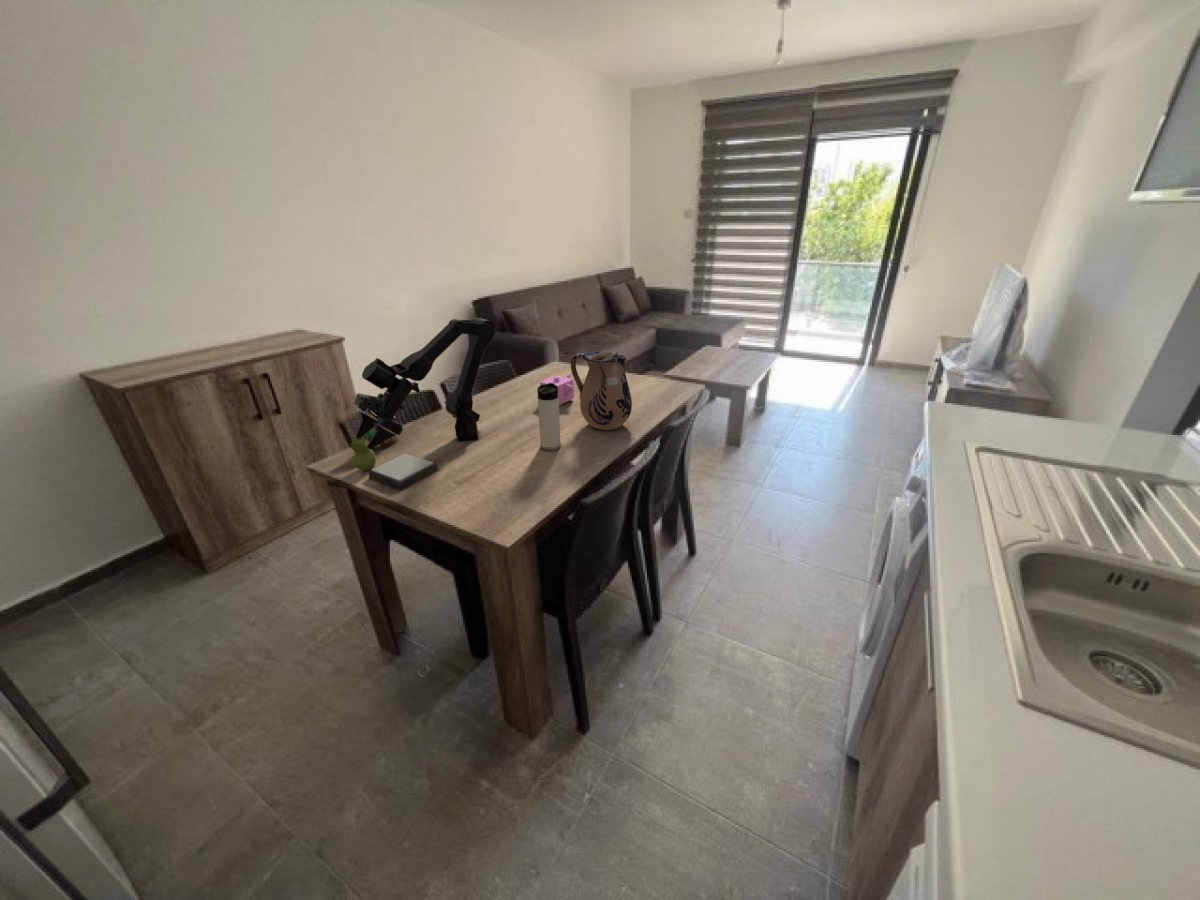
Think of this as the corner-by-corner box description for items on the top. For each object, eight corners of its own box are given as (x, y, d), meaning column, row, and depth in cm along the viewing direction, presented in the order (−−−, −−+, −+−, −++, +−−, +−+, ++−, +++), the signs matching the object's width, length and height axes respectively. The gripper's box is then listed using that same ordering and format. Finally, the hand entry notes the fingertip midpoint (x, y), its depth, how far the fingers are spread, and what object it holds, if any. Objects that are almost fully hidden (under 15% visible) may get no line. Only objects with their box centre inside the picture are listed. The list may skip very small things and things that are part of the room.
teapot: (559, 391, 198) (558, 367, 193) (587, 397, 191) (587, 373, 186) (531, 405, 184) (529, 379, 179) (560, 412, 177) (559, 386, 173)
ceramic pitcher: (628, 437, 157) (629, 363, 146) (565, 433, 161) (562, 360, 149) (633, 417, 173) (635, 348, 161) (577, 413, 176) (575, 346, 165)
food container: (385, 452, 148) (378, 423, 144) (368, 451, 149) (360, 421, 145) (407, 436, 159) (402, 408, 154) (391, 434, 160) (384, 407, 156)
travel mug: (564, 443, 154) (561, 383, 145) (555, 452, 148) (552, 390, 139) (546, 440, 156) (542, 381, 147) (537, 449, 150) (533, 388, 141)
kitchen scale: (407, 459, 144) (405, 451, 143) (437, 469, 138) (436, 461, 137) (369, 478, 134) (367, 470, 133) (400, 490, 128) (398, 481, 127)
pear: (380, 465, 141) (373, 434, 136) (371, 474, 136) (363, 442, 132) (362, 464, 141) (355, 434, 137) (352, 473, 137) (344, 442, 132)
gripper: (358, 374, 137) (326, 420, 135) (382, 390, 125) (348, 441, 123) (390, 394, 146) (361, 437, 144) (416, 411, 133) (384, 458, 131)
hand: (363, 443), depth 135 cm, fingers open, 9 cm apart
